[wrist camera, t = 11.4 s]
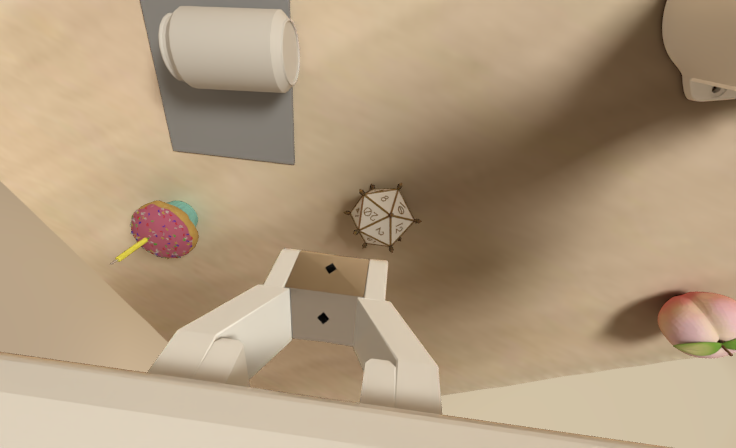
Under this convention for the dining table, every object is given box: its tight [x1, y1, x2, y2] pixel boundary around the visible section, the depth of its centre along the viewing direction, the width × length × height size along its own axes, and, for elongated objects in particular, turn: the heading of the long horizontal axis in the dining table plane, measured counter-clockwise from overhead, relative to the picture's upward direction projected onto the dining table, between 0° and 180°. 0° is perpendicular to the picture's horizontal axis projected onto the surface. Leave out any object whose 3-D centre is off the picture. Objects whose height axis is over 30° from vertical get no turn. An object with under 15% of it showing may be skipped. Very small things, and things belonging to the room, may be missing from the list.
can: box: [158, 6, 300, 93], centre depth 36 cm, size 8×8×12 cm
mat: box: [140, 0, 295, 165], centre depth 41 cm, size 16×20×1 cm
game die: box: [344, 183, 422, 253], centre depth 44 cm, size 9×8×10 cm
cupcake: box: [110, 201, 199, 264], centre depth 47 cm, size 9×8×12 cm
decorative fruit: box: [658, 292, 736, 358], centre depth 47 cm, size 9×8×10 cm
